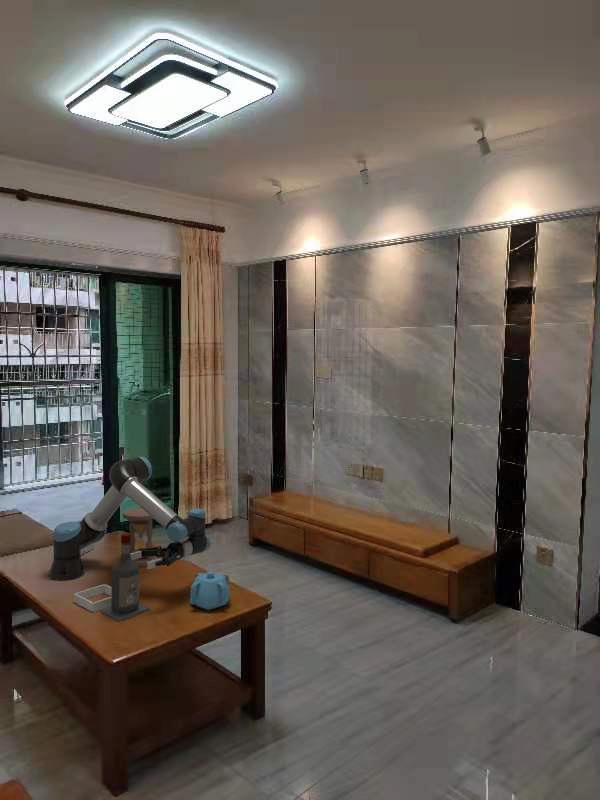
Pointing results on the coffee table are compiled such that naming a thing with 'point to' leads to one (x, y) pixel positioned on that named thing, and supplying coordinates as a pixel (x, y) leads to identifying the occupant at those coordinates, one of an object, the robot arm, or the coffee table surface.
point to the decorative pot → (210, 590)
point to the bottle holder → (83, 595)
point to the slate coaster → (124, 616)
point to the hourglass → (140, 531)
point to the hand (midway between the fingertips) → (137, 561)
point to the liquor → (125, 580)
